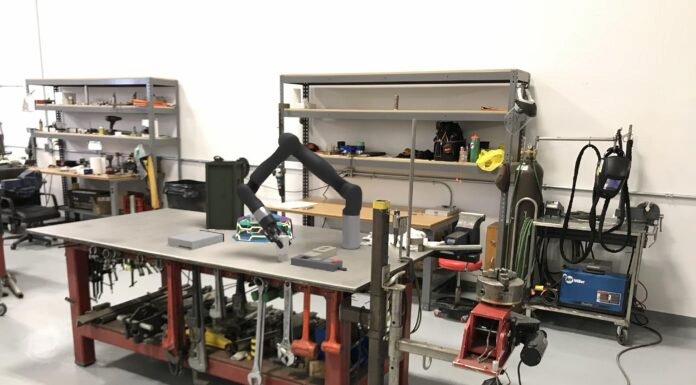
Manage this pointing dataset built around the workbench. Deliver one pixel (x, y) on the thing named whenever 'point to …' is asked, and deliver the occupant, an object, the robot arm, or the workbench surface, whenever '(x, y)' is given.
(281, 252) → the block
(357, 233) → the robot arm
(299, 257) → the power strip
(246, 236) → the stadium
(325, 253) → the electrical outlet
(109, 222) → the workbench surface
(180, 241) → the disc drive
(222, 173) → the green ammo box
